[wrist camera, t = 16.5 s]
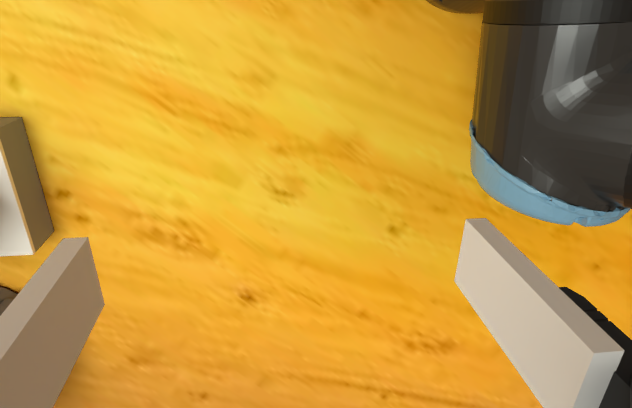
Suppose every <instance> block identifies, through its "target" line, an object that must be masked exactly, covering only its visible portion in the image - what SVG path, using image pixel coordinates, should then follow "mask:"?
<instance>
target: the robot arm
mask: <svg viewBox="0 0 632 408" xmlns="http://www.w3.org/2000/svg"><path fill="white" fill-rule="evenodd" d="M426 1H428V2H429V3H431V4H432V5H434V6H436V7H438V8H440V9H443V10H446V11H449V12H455V13H470V14H471V13H482V12H484V13H483V21H482V29H481V39H480V49H479V59H478V68H477V78H476V88H475V98H474V107H473V117H472V120H471V121H470V126H469V131H470V136H471V169H472V173H473V175H474V176H475V178H476V179H477V181H478V182H479V185H480V186H481V188H482V189H483V190H484V191H485V192H487V193H488V194H489V195H490V196H491V197H493V198H494V199H495V200H497V201H498V202H500V203H501V204H503V205H505V206H507V207H509V208H511V209H513V210H515V211H517V212H520V213H522V214H525V215H527V216H530V217H533V218H536V219H540V220H543V221H547V222H551V223H557V224H563V225H571V224H572V223H573V222H576V223H578V224H580V225H582V226H585V227H586V226H601V225H606V224H609V223H612V222H615V221H617V220H619V219H620V218H621V217H622V216H623V215H624V214H626V213H627V212H628V211H629V210H630V209H632V0H426ZM455 283H456V284H457V286H458V287H459V289H460V290H461V291H462V293H463V294H464V296H465V297H466V298H467V300H468V301H469V303H470V304H471V306H472V307H473V308H474V310H475V311H476V313H477V314H478V316H479V317H480V318H481V320H482V321H483V323H484V324H485V325H486V327H487V328H488V330H489V331H490V333H491V334H492V335H493V337H494V338H495V340H496V341H497V343H498V344H499V345H500V347H501V348H502V350H503V351H504V352H505V354H506V355H507V357H508V358H509V360H510V361H511V362H512V364H513V365H514V367H515V368H516V370H517V371H518V372H519V374H520V375H521V377H522V378H523V379H524V381H525V382H526V384H527V385H528V387H529V388H530V389H531V391H532V392H533V394H534V395H535V397H536V398H537V399H538V401H539V402H540V404H541V405H542V406H543V408H632V340H631V339H630V338H628V337H627V336H626V335H625V334H624V333H623V332H622V331H621V330H620V329H619V328H617V327H616V326H615V325H614V324H613V323H612V322H611V321H608V318H606V317H605V316H604V315H603V314H602V313H601V312H600V311H597V309H596V308H595V307H594V306H593V305H592V304H591V303H590V302H589V301H588V300H587V299H585V298H584V297H583V296H581V295H579V294H578V293H576V292H574V291H572V290H571V289H569V288H567V287H559V288H558V287H557V286H556V285H555V284H554V283H553V282H552V281H551V280H550V279H549V278H548V277H547V276H546V275H545V274H544V273H543V272H542V271H541V270H540V269H538V268H537V267H536V266H535V265H534V264H533V263H532V262H531V261H530V260H529V259H528V258H527V257H526V256H525V255H524V254H523V253H522V252H521V251H520V250H519V249H517V248H516V247H515V246H514V245H513V244H512V243H511V242H510V241H509V240H508V239H507V238H506V237H505V236H504V235H503V234H502V233H501V232H500V231H499V230H497V229H496V228H495V227H494V226H493V225H492V224H491V223H490V222H489V221H488V220H487V219H486V218H479V219H466V221H465V226H464V232H463V237H462V243H461V248H460V253H459V259H458V264H457V270H456V275H455ZM104 305H105V304H104V300H103V296H102V292H101V288H100V284H99V280H98V276H97V272H96V268H95V264H94V260H93V256H92V252H91V248H90V244H89V240H88V237H85V238H64V239H63V240H62V241H61V242H60V243H59V244H58V246H57V247H56V248H55V249H54V251H53V252H52V253H51V254H50V256H49V257H48V258H47V259H46V260H45V262H44V263H43V264H42V265H41V267H40V268H39V269H38V270H37V272H36V273H35V274H34V275H33V276H32V278H31V279H30V280H29V281H28V283H27V284H26V285H25V286H24V288H23V289H22V290H21V291H20V292H19V294H18V295H17V296H16V297H15V299H14V300H13V301H12V302H11V304H10V305H9V306H8V307H7V308H6V310H5V311H4V312H3V313H2V315H1V316H0V408H53V406H54V404H55V402H56V400H57V398H58V396H59V394H60V392H61V390H62V388H63V386H64V384H65V382H66V380H67V378H68V376H69V374H70V372H71V370H72V368H73V366H74V364H75V362H76V360H77V358H78V356H79V354H80V352H81V350H82V348H83V346H84V344H85V342H86V340H87V338H88V336H89V334H90V332H91V330H92V328H93V326H94V324H95V322H96V320H97V318H98V317H99V315H100V313H101V311H102V309H103V307H104Z"/></svg>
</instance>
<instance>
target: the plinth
mask: <svg viewBox="0 0 632 408" xmlns="http://www.w3.org/2000/svg"><path fill="white" fill-rule="evenodd" d="M53 232H54V228H53V225H52V221H51V218H50V214H49V211H48V207H47V204H46V200H45V197H44V193H43V190H42V186H41V183H40V179H39V176H38V172H37V169H36V165H35V162H34V158H33V155H32V151H31V148H30V144H29V141H28V137H27V134H26V130H25V127H24V123H23V120H22V117H0V256H15V255H34V253H35V252H36V251H37V250H38V249H39V248H40V247H41V245H42V244H43V243H44V242H45V241H46V240H47V239H48V237H49V236H50V235H51V234H52V233H53Z"/></svg>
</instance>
